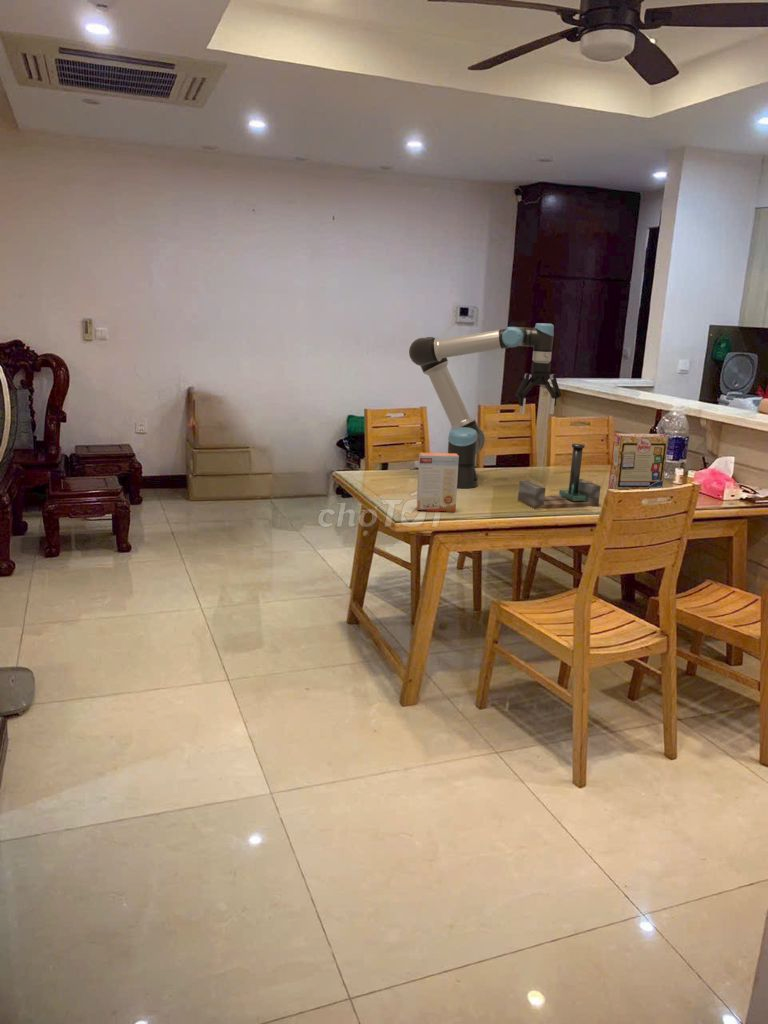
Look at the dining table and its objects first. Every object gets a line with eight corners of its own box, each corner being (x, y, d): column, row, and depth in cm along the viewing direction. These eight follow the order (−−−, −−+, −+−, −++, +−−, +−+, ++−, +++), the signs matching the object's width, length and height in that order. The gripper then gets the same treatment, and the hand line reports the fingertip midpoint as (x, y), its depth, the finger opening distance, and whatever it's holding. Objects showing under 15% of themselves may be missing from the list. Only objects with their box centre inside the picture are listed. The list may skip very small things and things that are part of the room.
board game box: (653, 499, 309) (662, 433, 302) (661, 503, 303) (670, 436, 296) (606, 498, 306) (614, 432, 299) (612, 502, 300) (621, 435, 293)
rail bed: (534, 509, 285) (536, 487, 283) (517, 500, 297) (519, 479, 295) (598, 506, 294) (600, 485, 291) (580, 498, 306) (582, 477, 303)
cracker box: (453, 508, 281) (457, 452, 275) (455, 512, 275) (459, 455, 269) (415, 507, 280) (419, 451, 275) (417, 511, 274) (420, 454, 269)
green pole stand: (572, 501, 291) (578, 447, 286) (559, 494, 300) (564, 442, 295) (586, 500, 293) (592, 446, 288) (572, 494, 302) (578, 442, 297)
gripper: (518, 362, 303) (513, 415, 309) (572, 363, 311) (567, 415, 316) (509, 360, 310) (505, 412, 316) (563, 362, 318) (558, 412, 323)
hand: (536, 413), depth 316 cm, fingers open, 13 cm apart
